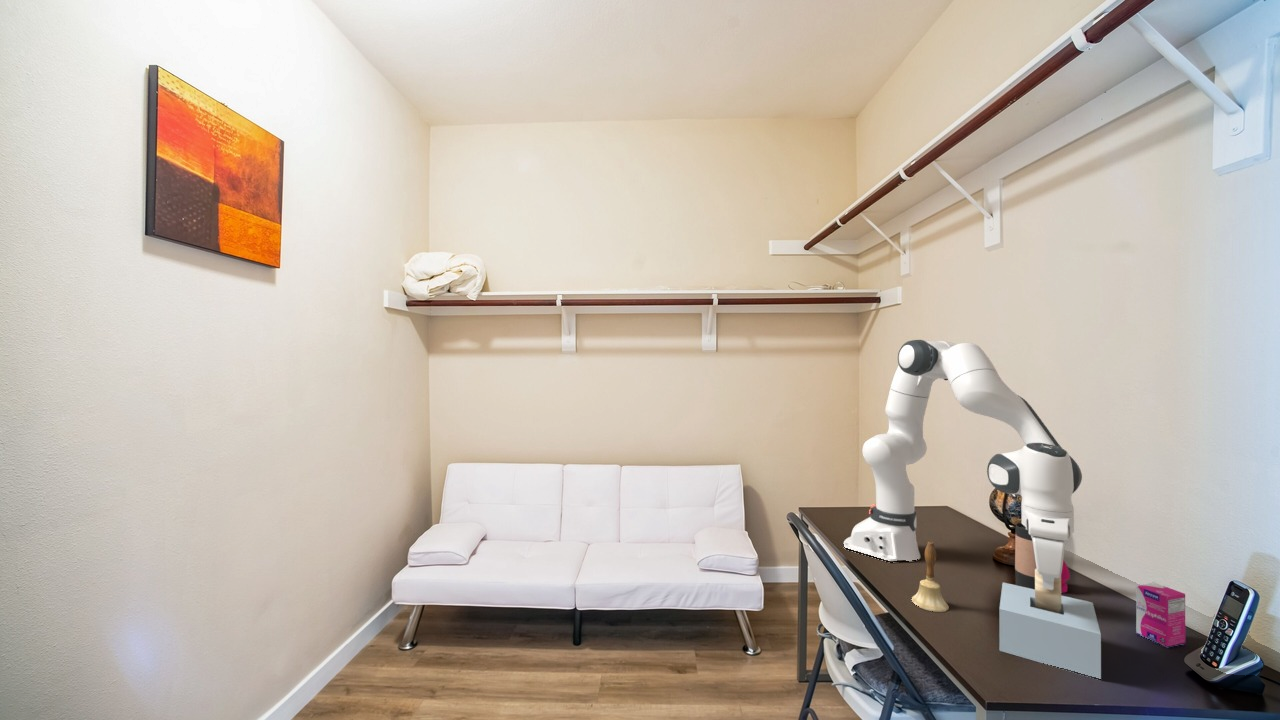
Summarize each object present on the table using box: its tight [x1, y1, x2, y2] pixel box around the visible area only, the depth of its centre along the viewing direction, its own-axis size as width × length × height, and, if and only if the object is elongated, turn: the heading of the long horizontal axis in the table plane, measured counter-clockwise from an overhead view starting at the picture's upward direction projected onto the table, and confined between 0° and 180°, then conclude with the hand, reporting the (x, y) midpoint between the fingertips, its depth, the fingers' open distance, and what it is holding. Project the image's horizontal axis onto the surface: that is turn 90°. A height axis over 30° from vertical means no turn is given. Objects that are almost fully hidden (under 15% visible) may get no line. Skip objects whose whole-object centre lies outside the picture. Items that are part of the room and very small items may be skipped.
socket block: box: [998, 582, 1102, 680], centre depth 108 cm, size 16×16×9 cm
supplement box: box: [1135, 581, 1186, 647], centre depth 110 cm, size 6×6×12 cm
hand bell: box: [910, 540, 950, 613], centre depth 126 cm, size 8×8×16 cm
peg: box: [1035, 568, 1062, 614], centre depth 107 cm, size 4×4×8 cm
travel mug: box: [1014, 522, 1037, 589], centre depth 125 cm, size 8×8×20 cm
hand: (1047, 583), depth 107 cm, fingers closed on peg, 4 cm apart
